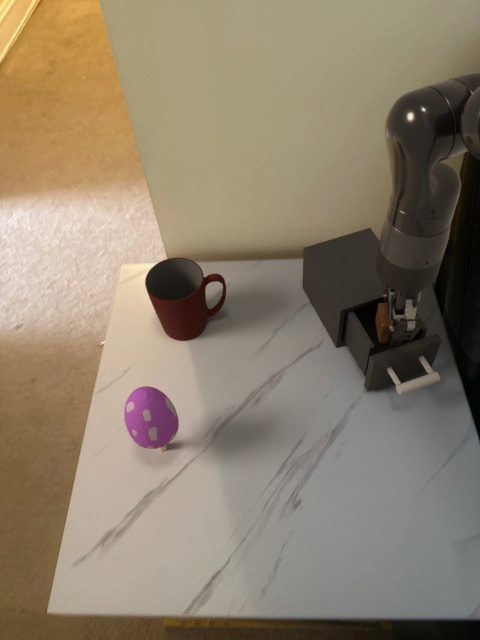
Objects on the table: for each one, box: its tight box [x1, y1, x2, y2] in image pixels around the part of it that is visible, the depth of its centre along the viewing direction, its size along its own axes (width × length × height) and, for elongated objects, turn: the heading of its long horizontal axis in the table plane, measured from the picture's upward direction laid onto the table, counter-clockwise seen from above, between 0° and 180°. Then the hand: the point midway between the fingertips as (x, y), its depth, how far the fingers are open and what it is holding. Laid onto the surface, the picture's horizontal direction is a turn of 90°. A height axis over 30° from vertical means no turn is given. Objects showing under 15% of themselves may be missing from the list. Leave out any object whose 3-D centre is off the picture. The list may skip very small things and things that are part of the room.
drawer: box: [342, 300, 443, 396], centre depth 82 cm, size 17×10×8 cm, turn 19°
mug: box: [144, 257, 227, 342], centre depth 89 cm, size 12×9×11 cm
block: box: [375, 303, 408, 343], centre depth 79 cm, size 4×4×4 cm
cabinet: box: [301, 227, 384, 349], centre depth 89 cm, size 14×12×10 cm
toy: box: [123, 385, 180, 452], centre depth 74 cm, size 7×7×15 cm
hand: (391, 329), depth 80 cm, fingers closed on block, 4 cm apart
